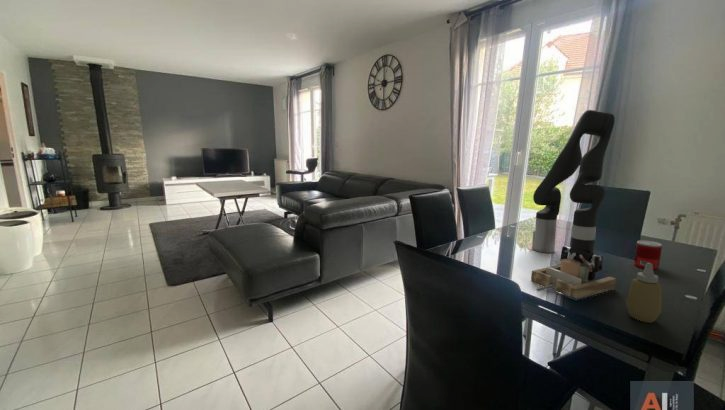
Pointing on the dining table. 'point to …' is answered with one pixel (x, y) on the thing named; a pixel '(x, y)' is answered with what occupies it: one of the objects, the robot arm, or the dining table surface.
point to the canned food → (647, 254)
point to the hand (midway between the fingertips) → (578, 276)
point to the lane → (570, 290)
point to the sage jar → (583, 273)
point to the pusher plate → (560, 278)
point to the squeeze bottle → (645, 296)
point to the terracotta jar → (570, 267)
